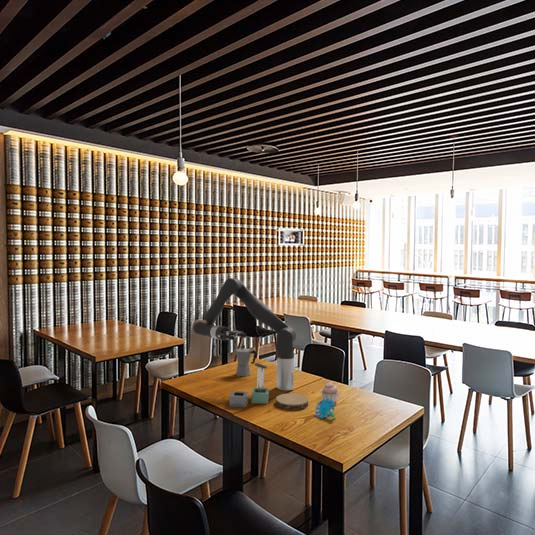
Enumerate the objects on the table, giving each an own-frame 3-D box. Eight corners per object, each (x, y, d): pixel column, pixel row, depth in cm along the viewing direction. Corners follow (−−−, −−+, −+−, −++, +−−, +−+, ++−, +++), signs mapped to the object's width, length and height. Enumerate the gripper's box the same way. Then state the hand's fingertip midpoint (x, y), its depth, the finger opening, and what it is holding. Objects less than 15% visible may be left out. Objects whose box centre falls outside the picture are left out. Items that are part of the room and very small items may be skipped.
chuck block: (247, 401, 205) (248, 391, 205) (245, 407, 197) (246, 397, 197) (231, 400, 206) (232, 391, 206) (229, 406, 198) (229, 396, 198)
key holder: (268, 398, 211) (268, 388, 211) (267, 403, 203) (267, 393, 203) (253, 397, 212) (253, 387, 211) (251, 402, 204) (251, 392, 203)
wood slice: (276, 410, 195) (276, 404, 195) (275, 398, 211) (275, 392, 211) (309, 411, 195) (309, 405, 195) (306, 399, 211) (306, 393, 211)
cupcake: (339, 399, 211) (340, 380, 211) (338, 405, 202) (338, 385, 202) (321, 397, 214) (322, 378, 213) (319, 403, 205) (319, 383, 204)
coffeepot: (230, 375, 249) (230, 345, 249) (236, 371, 258) (237, 342, 258) (253, 378, 244) (254, 348, 243) (259, 374, 253) (260, 345, 252)
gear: (310, 410, 191) (324, 394, 193) (316, 417, 194) (330, 401, 196) (324, 422, 182) (338, 404, 184) (330, 429, 184) (345, 412, 186)
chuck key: (252, 399, 209) (253, 363, 208) (256, 397, 211) (257, 362, 211) (263, 403, 203) (264, 366, 203) (267, 401, 206) (268, 365, 205)
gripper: (210, 327, 224) (230, 331, 213) (229, 324, 235) (249, 328, 224) (210, 341, 225) (229, 345, 214) (229, 337, 235) (249, 342, 224)
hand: (239, 336), depth 219 cm, fingers open, 8 cm apart
